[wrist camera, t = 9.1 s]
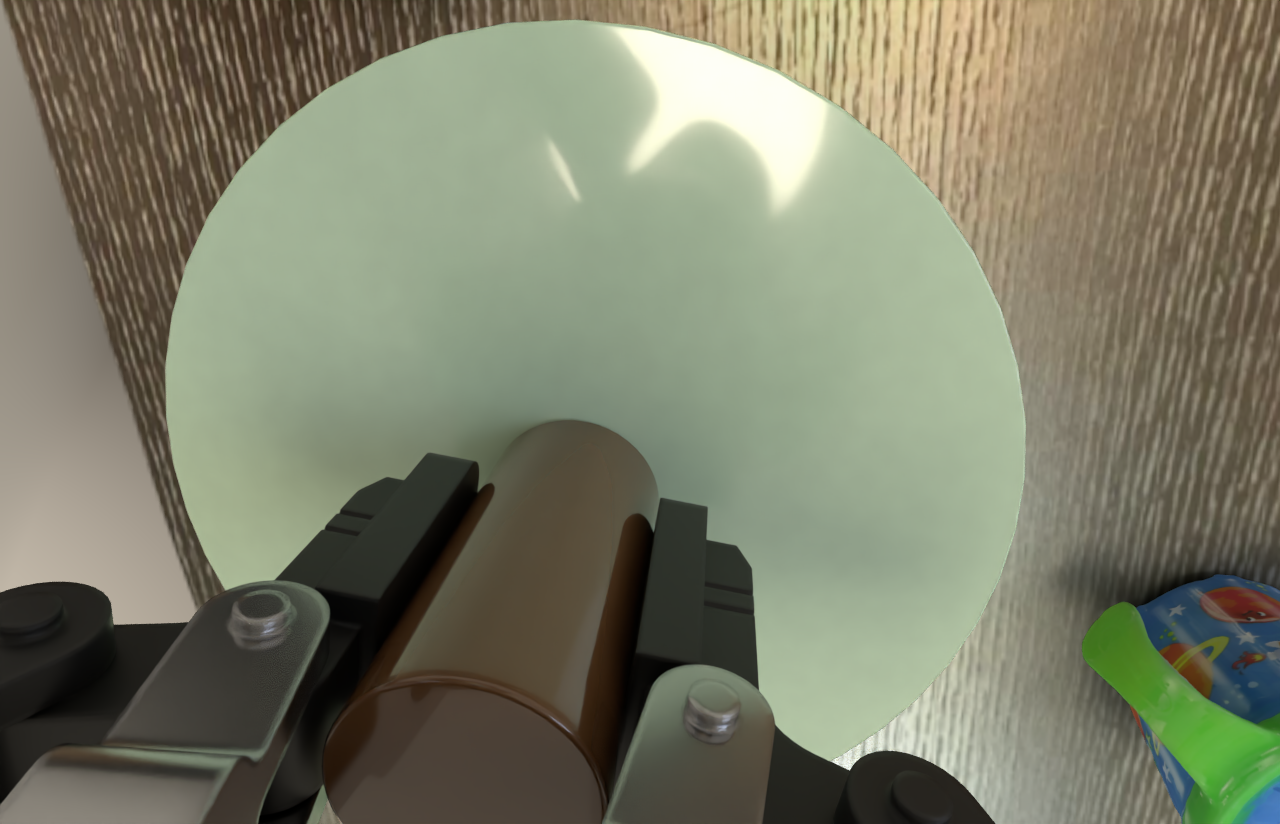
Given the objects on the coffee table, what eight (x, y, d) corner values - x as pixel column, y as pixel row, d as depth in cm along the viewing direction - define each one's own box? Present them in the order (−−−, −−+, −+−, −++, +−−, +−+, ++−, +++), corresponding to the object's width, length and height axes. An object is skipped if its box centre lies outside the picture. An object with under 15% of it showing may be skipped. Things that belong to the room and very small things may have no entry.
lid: (226, 689, 17) (-96, 1070, 10) (181, -50, 11) (-572, -255, 5) (868, 821, 16) (965, 1310, 10) (1144, 119, 11) (1788, 151, 4)
